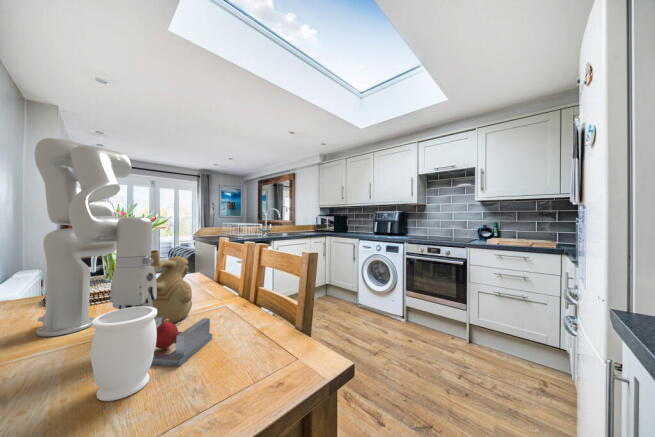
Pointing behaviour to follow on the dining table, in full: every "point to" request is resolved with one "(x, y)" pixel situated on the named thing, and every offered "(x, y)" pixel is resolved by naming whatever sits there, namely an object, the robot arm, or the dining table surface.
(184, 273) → the ceramic vessel
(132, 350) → the jar
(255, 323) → the dining table surface
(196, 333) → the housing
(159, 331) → the onion
